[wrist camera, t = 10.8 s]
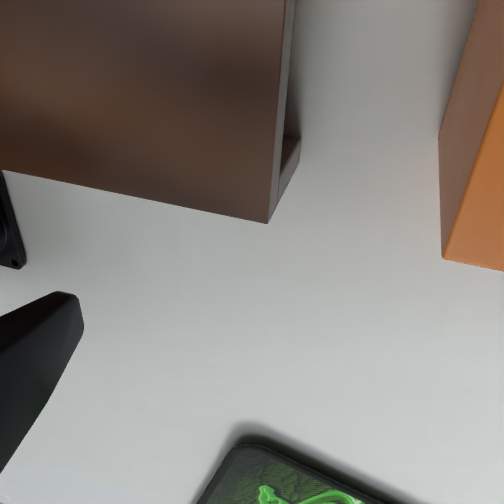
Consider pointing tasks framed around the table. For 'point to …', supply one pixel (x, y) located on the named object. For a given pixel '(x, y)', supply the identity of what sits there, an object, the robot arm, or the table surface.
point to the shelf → (151, 99)
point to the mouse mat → (274, 481)
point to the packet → (475, 147)
